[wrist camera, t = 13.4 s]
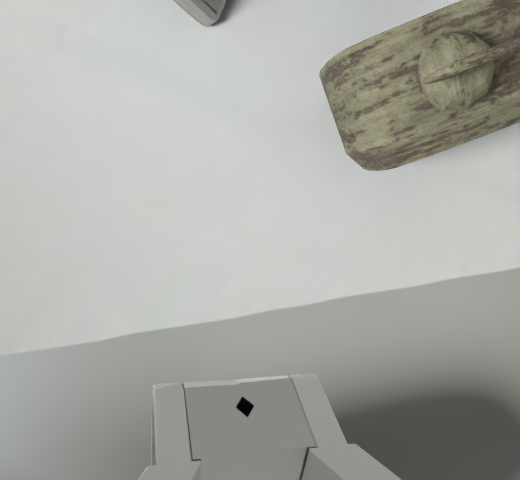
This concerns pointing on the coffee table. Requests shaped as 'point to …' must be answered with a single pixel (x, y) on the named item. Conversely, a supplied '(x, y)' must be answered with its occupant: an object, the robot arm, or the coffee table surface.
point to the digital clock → (203, 9)
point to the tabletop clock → (427, 83)
